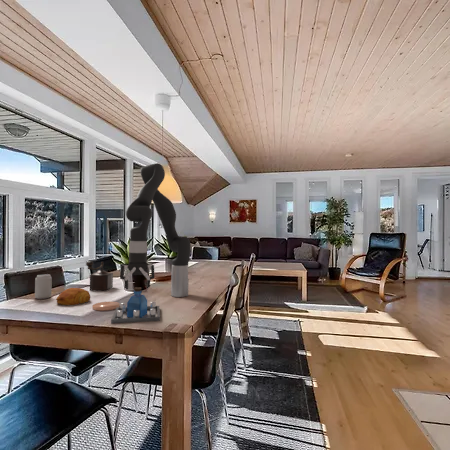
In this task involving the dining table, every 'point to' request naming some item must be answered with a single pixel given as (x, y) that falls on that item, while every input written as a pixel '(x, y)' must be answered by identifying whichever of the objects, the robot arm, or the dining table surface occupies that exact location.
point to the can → (43, 286)
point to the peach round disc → (105, 306)
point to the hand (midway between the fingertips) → (137, 288)
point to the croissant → (73, 296)
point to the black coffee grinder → (100, 278)
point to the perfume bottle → (137, 303)
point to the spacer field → (135, 314)
